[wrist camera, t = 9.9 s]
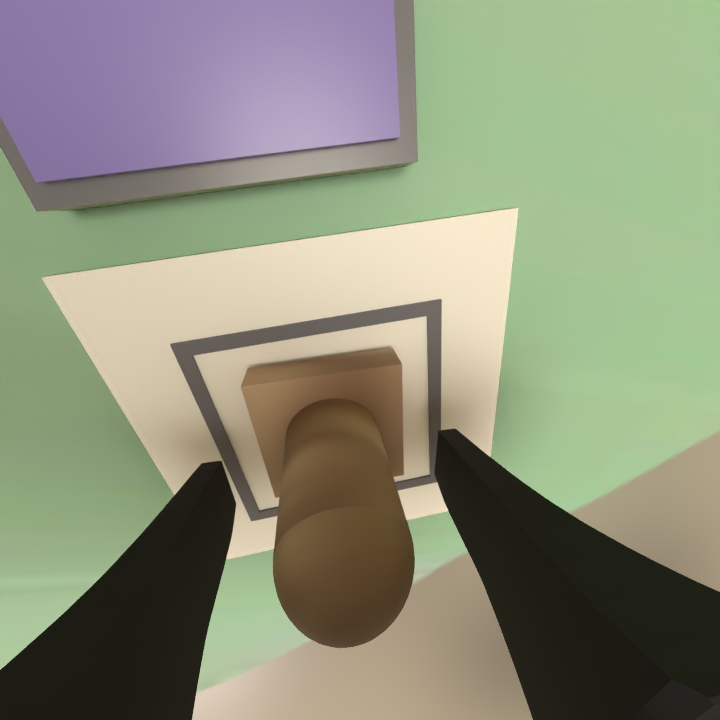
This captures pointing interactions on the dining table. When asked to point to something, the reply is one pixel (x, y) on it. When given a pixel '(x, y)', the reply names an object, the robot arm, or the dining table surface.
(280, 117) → the ink pad
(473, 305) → the paper sheet
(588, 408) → the dining table surface
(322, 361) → the stamp
